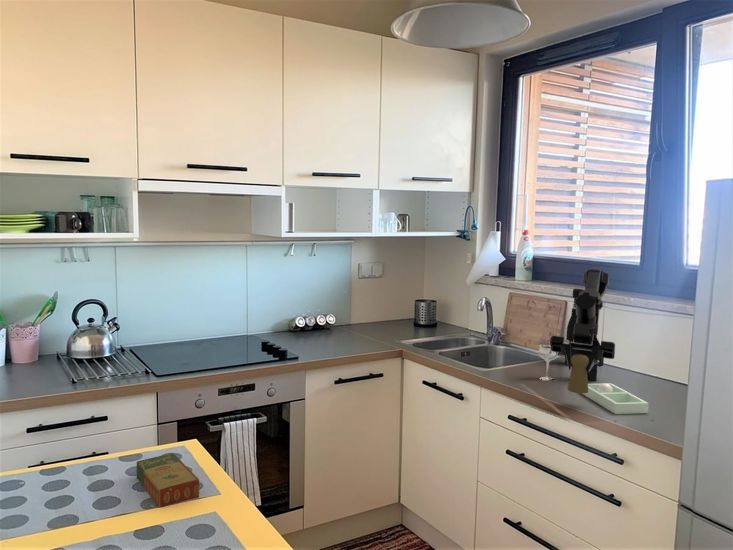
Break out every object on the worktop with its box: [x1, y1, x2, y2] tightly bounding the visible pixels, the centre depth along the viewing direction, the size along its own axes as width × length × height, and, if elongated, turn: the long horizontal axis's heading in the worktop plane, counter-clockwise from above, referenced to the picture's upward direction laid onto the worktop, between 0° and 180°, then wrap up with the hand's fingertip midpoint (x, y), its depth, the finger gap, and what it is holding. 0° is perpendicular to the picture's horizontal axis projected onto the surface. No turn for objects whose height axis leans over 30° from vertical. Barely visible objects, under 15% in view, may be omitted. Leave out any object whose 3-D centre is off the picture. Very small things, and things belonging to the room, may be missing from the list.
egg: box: [597, 382, 613, 393], centre depth 190 cm, size 5×5×5 cm
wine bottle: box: [564, 288, 584, 367], centre depth 233 cm, size 6×6×30 cm
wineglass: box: [538, 343, 559, 381], centre depth 213 cm, size 7×7×12 cm
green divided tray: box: [581, 382, 649, 415], centre depth 186 cm, size 20×10×4 cm, turn 9°
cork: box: [567, 354, 589, 394], centre depth 181 cm, size 6×6×11 cm
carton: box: [136, 452, 200, 509], centre depth 124 cm, size 8×16×4 cm, turn 36°
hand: (578, 370), depth 180 cm, fingers closed on cork, 5 cm apart
